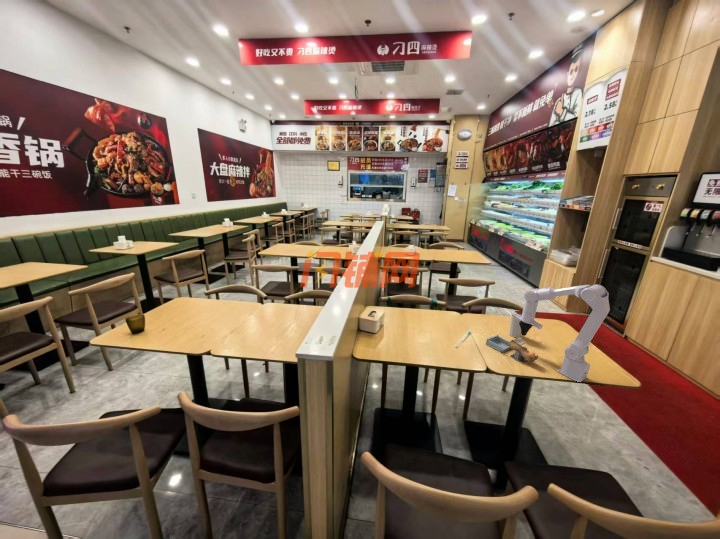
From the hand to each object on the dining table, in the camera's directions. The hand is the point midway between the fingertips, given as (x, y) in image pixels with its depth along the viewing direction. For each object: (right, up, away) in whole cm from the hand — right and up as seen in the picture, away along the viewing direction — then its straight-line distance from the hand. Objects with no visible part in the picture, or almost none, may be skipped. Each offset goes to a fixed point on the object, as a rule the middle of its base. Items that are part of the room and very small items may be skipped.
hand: (523, 335), depth 149 cm
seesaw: (-2, -7, -5) cm, 8 cm away
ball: (-2, -7, -11) cm, 13 cm away
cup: (+5, -4, +17) cm, 18 cm away
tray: (-11, -7, +5) cm, 14 cm away
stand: (-5, -10, -5) cm, 13 cm away
